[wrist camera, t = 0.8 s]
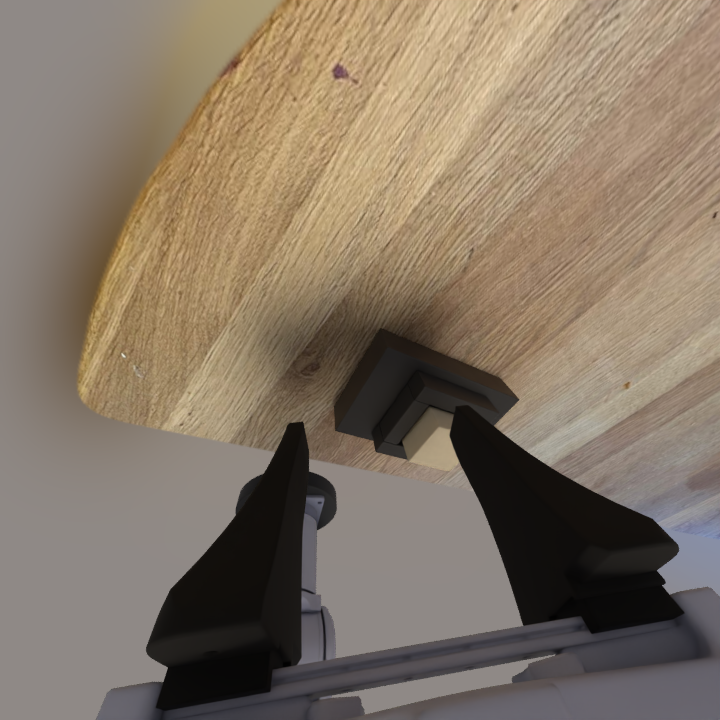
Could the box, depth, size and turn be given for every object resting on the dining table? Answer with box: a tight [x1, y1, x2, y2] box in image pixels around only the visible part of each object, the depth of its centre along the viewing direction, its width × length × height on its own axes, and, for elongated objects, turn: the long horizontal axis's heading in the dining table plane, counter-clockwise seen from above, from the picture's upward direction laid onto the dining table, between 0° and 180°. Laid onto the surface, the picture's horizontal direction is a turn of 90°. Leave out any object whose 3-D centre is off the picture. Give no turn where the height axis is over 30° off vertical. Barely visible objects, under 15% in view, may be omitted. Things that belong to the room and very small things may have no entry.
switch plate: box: [334, 328, 519, 460], centre depth 22 cm, size 12×8×4 cm, turn 63°
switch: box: [402, 406, 459, 472], centre depth 19 cm, size 4×4×2 cm
